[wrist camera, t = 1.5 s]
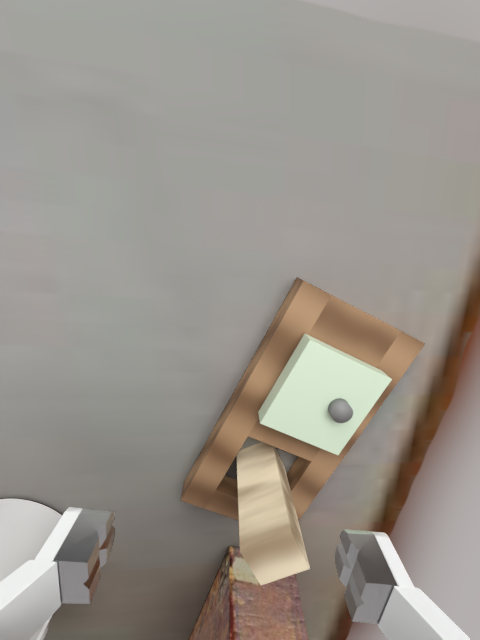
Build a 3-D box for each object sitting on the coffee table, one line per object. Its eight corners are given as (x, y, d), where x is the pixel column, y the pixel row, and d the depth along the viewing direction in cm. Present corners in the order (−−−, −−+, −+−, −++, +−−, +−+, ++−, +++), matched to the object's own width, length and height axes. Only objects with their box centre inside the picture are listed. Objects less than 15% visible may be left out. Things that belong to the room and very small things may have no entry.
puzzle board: (282, 517, 36) (286, 536, 34) (184, 482, 34) (180, 500, 31) (409, 335, 29) (425, 343, 27) (297, 277, 27) (303, 280, 25)
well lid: (331, 442, 30) (342, 463, 27) (258, 412, 28) (261, 430, 25) (381, 370, 27) (398, 384, 25) (304, 333, 26) (313, 344, 23)
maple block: (284, 465, 34) (310, 568, 23) (250, 478, 34) (260, 585, 23) (271, 438, 32) (291, 533, 22) (236, 451, 33) (240, 551, 22)
